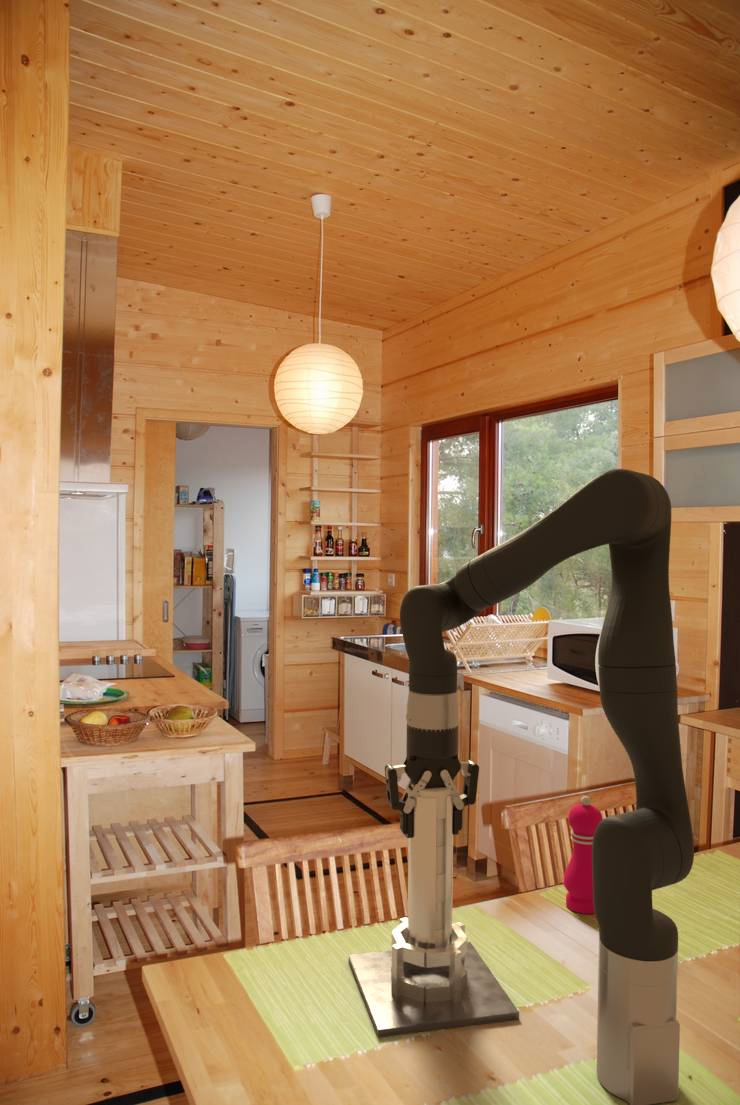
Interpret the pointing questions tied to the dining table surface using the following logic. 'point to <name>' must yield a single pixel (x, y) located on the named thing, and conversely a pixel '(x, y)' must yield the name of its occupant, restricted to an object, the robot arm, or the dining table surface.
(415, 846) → the cream peg
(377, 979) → the collar stand
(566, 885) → the pepper mill
